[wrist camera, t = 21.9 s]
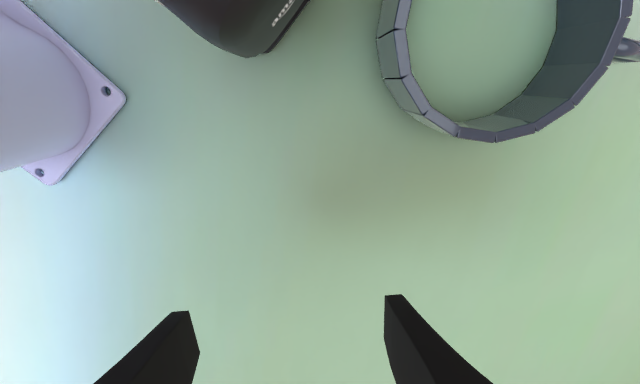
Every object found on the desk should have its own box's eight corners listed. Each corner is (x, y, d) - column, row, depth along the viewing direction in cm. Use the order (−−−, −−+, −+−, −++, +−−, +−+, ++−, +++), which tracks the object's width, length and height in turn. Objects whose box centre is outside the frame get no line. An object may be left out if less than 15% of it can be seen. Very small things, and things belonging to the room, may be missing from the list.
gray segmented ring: (360, 117, 19) (373, 126, 15) (402, -106, 15) (432, -163, 11) (562, 146, 20) (617, 160, 16) (647, -53, 16) (742, -90, 13)
